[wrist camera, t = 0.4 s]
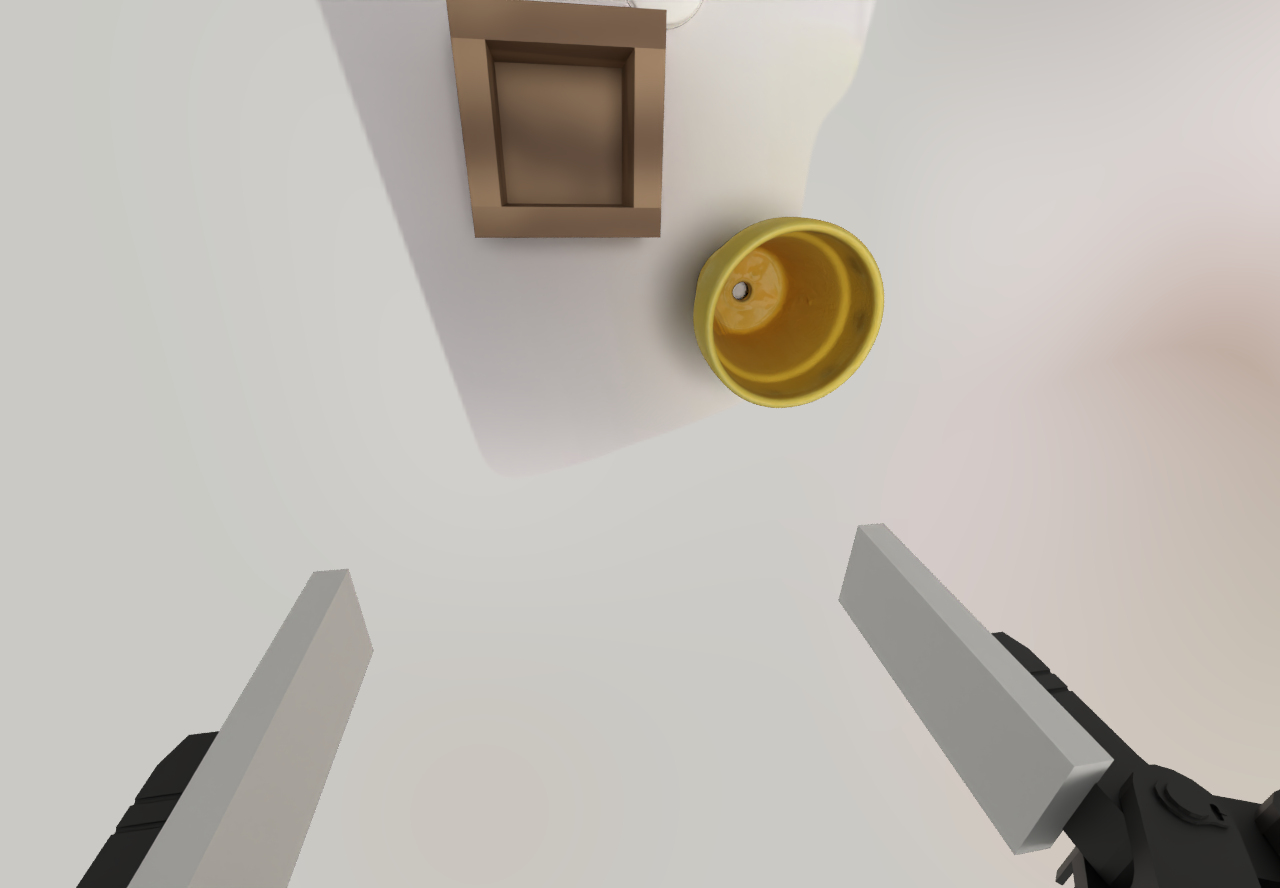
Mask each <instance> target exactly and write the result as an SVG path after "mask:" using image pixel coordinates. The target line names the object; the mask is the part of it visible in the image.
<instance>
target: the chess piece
mask: <svg viewBox="0 0 1280 888" xmlns="http://www.w3.org/2000/svg"><path fill="white" fill-rule="evenodd" d="M627 1H628V3H629V5H630V6H631V8H646V9H662V10H667V15H666V29H670V28H675V27H678V26H680V25H682V24H684V23H685V22H687V21H688V20H689V19H690V18H692V16H693V15H694V14H695V13H696V12H697V10H698V9H699V7H700V5H701V4H702V2H703V0H627Z"/></svg>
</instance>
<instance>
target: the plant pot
mask: <svg viewBox="0 0 1280 888" xmlns="http://www.w3.org/2000/svg"><path fill="white" fill-rule="evenodd" d="M740 282H745V283H746V284H747V285H748V288H749V292H748V295H747V296H746V297H745V298H744V299H741V300H738V299H736V298H735V297H734V296H733V293H732V292H733V288H734V286H735V285H736V284H738V283H740ZM883 309H884V289H883V282H882V278H881V274H880V271H879V268H878V266H877V264H876V261H875V260H874V258H873V256H872V254H871V253H870V252H869V250H868V249H867V247H866V246H865V245H864V244H863V243H862V242H861V241H860V240H859V239H858V238H857V237H855V236H854V235H853V234H851V233H850V232H849V231H847V230H845V229H844V228H842V227H840V226H837V225H835V224H832V223H829V222H825V221H821V220H816V219H809V218H800V217H781V218H773V219H768V220H764V221H761V222H758V223H756V224H753V225H751V226H749V227H747V228H745V229H744V230H742V231H740V232H739V233H738V234H736V235H735V236H733V237H732V238H731V239H730V240H729V241H727V242H726V243H725V244H724V245H723V246H722V247H721V248H719V249H718V250H717V251H715V252H714V253H713V254H712V255H711V256H710V257H709V259H708V260H707V261H706V263H705V264H704V266H703V268H702V270H701V272H700V274H699V277H698V281H697V287H696V296H695V302H694V311H693V322H694V331H695V336H696V340H697V343H698V346H699V348H700V350H701V353H702V354H703V356H704V358H705V360H706V361H707V363H708V365H709V366H710V368H711V369H712V370H713V372H714V373H715V374H716V375H717V377H718V378H719V379H720V380H721V381H722V382H723V383H724V385H725V386H727V387H728V388H729V389H730V390H731V391H732V392H733V393H735V394H736V395H738V396H739V397H741V398H742V399H744V400H746V401H749V402H751V403H754V404H756V405H760V406H765V407H772V408H786V407H793V406H799V405H803V404H807V403H810V402H813V401H815V400H817V399H819V398H822V397H824V396H825V395H827V394H829V393H831V392H832V391H834V390H835V389H836V388H838V387H839V386H840V385H842V384H843V383H844V382H845V381H846V380H847V379H848V378H850V377H851V376H852V375H853V374H854V372H855V371H856V370H857V369H858V368H859V367H860V365H861V364H862V362H863V361H864V360H865V358H866V357H867V355H868V353H869V352H870V350H871V348H872V346H873V344H874V342H875V340H876V337H877V335H878V332H879V329H880V325H881V321H882V316H883Z"/></svg>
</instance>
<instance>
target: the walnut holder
mask: <svg viewBox="0 0 1280 888" xmlns="http://www.w3.org/2000/svg"><path fill="white" fill-rule="evenodd" d="M446 2H447V11H448V19H449V27H450V35H451V43H452V51H453V60H454V68H455V76H456V84H457V92H458V100H459V109H460V117H461V125H462V133H463V141H464V149H465V158H466V166H467V174H468V182H469V190H470V198H471V207H472V215H473V223H474V231H475V238H529V237H660V227H661V191H662V156H663V121H664V86H665V50H666V15H667V10H662V9H646V8H631V7H616V6H601V5H585V4H570V3H555V2H540V1H524V0H446Z"/></svg>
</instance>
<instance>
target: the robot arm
mask: <svg viewBox="0 0 1280 888" xmlns="http://www.w3.org/2000/svg"><path fill="white" fill-rule="evenodd" d="M839 602H840V603H841V605H842V606H843V608H844V609H845V611H846V612H847V613H848V615H849V616H850V618H851V619H852V621H853V622H854V624H855V625H856V626H857V628H858V629H859V631H860V632H861V634H862V635H863V637H864V638H865V640H866V641H867V642H868V644H869V645H870V647H871V648H872V650H873V651H874V653H875V654H876V655H877V657H878V658H879V660H880V661H881V663H882V664H883V665H884V667H885V668H886V670H887V671H888V673H889V674H890V676H891V677H892V679H893V680H894V681H895V683H896V684H897V686H898V687H899V689H900V690H901V691H902V693H903V694H904V696H905V697H906V699H907V700H908V702H909V703H910V705H911V706H912V707H913V709H914V710H915V712H916V713H917V715H918V716H919V717H920V719H921V720H922V722H923V723H924V725H925V726H926V728H927V729H928V731H929V732H930V733H931V735H932V736H933V738H934V739H935V741H936V742H937V743H938V745H939V746H940V748H941V749H942V751H943V752H944V754H945V755H946V757H947V758H948V759H949V761H950V762H951V764H952V765H953V767H954V768H955V770H956V771H957V773H958V774H959V775H960V777H961V778H962V780H963V781H964V783H965V784H966V786H967V787H968V788H969V790H970V791H971V793H972V794H973V796H974V797H975V799H976V800H977V801H978V803H979V804H980V806H981V807H982V809H983V810H984V812H985V813H986V814H987V816H988V817H989V819H990V820H991V822H992V823H993V824H994V826H995V828H996V829H997V830H998V832H999V833H1000V835H1001V836H1002V837H1003V839H1004V841H1005V842H1006V843H1007V845H1008V846H1009V848H1010V849H1011V851H1012V852H1013V853H1014V855H1018V854H1023V853H1028V852H1033V851H1038V850H1043V849H1048V848H1050V847H1051V846H1052V845H1053V843H1054V842H1055V840H1056V839H1057V838H1058V836H1059V835H1060V834H1061V832H1062V831H1063V830H1064V832H1065V833H1066V834H1067V835H1068V837H1069V838H1070V839H1071V840H1072V842H1073V843H1074V844H1075V845H1076V847H1075V848H1074V849H1073V851H1072V852H1071V853H1070V855H1069V856H1068V857H1067V858H1066V860H1065V861H1064V863H1063V864H1062V865H1061V866H1060V868H1059V869H1058V870H1057V875H1056V882H1057V883H1059V884H1061V885H1063V884H1064V883H1065V882H1066V881H1067V879H1068V878H1069V877H1070V876H1071V874H1072V873H1073V875H1074V882H1075V887H1074V888H1280V790H1278V791H1276V792H1274V793H1273V794H1272V795H1271V796H1270V797H1269V798H1268V799H1267V800H1266V801H1265V802H1264V803H1263V804H1258V803H1252V802H1247V801H1242V800H1236V799H1231V798H1225V797H1220V796H1214V795H1212V794H1210V793H1209V792H1208V791H1206V790H1205V789H1204V788H1203V787H1201V786H1199V785H1198V784H1197V783H1196V782H1194V781H1193V780H1191V779H1189V778H1187V777H1186V776H1184V775H1182V774H1180V773H1177V772H1176V771H1174V770H1171V769H1168V768H1165V767H1161V766H1158V765H1149V764H1147V763H1146V762H1145V761H1144V760H1143V759H1142V758H1141V757H1139V756H1138V755H1137V754H1136V753H1135V752H1134V751H1133V750H1132V749H1131V748H1130V747H1129V746H1128V745H1127V744H1126V743H1125V742H1124V741H1123V740H1122V739H1121V738H1120V737H1119V736H1118V735H1116V733H1114V731H1113V730H1112V729H1110V728H1109V727H1108V726H1107V725H1106V724H1105V723H1104V722H1103V721H1102V720H1101V719H1100V718H1099V717H1098V716H1097V715H1096V714H1095V713H1094V712H1093V711H1092V710H1091V709H1090V708H1089V707H1088V706H1087V705H1086V704H1085V703H1084V702H1083V701H1082V700H1081V699H1080V698H1079V697H1078V696H1077V695H1076V694H1075V693H1074V692H1073V691H1069V690H1068V689H1067V686H1066V685H1065V684H1064V683H1063V682H1062V681H1061V680H1060V679H1059V678H1058V677H1057V676H1056V675H1055V674H1052V673H1051V672H1050V669H1049V668H1048V667H1047V666H1046V665H1045V664H1044V663H1043V662H1042V661H1041V660H1040V659H1039V658H1038V657H1037V656H1036V655H1035V654H1034V653H1032V652H1031V650H1030V649H1028V648H1027V647H1025V646H1024V645H1022V644H1021V643H1019V642H1018V641H1016V640H1014V639H1013V638H1011V637H1010V636H1008V635H1006V634H1005V633H1003V632H998V633H990V632H989V631H988V630H987V629H986V628H985V627H984V626H983V625H982V624H981V623H980V622H979V621H978V620H977V619H976V618H975V617H974V616H973V615H972V613H970V611H969V610H968V609H967V608H966V607H965V606H964V605H963V604H962V603H961V602H960V601H959V600H958V599H957V598H956V597H955V596H954V595H953V594H952V593H951V592H950V591H949V590H948V589H947V588H946V587H945V586H944V585H943V584H942V583H941V582H940V581H939V580H938V579H937V578H936V577H935V576H934V575H933V574H932V573H931V572H930V570H929V569H928V568H927V567H926V566H924V564H923V563H922V562H921V561H920V560H919V559H918V558H917V557H916V556H915V555H914V554H913V553H912V552H911V551H910V550H909V549H908V548H907V547H906V546H905V545H904V544H903V543H902V542H901V541H900V540H899V539H898V538H897V537H896V536H895V535H894V534H893V533H892V532H891V531H890V529H888V527H887V526H886V525H885V524H883V523H882V524H871V525H859V526H858V528H857V532H856V536H855V540H854V543H853V547H852V551H851V555H850V558H849V563H848V567H847V570H846V574H845V577H844V581H843V585H842V589H841V593H840V596H839ZM372 653H373V647H372V644H371V641H370V638H369V634H368V631H367V628H366V625H365V621H364V618H363V615H362V611H361V608H360V605H359V602H358V598H357V595H356V592H355V589H354V585H353V582H352V579H351V576H350V572H349V569H341V570H329V571H317V572H313V574H312V576H311V577H310V579H309V580H308V582H307V584H306V586H305V587H304V589H303V591H302V592H301V594H300V596H299V597H298V599H297V601H296V602H295V604H294V606H293V608H292V609H291V611H290V613H289V614H288V616H287V618H286V620H285V621H284V623H283V625H282V626H281V628H280V630H279V631H278V633H277V635H276V636H275V638H274V640H273V641H272V643H271V645H270V647H269V648H268V650H267V652H266V653H265V655H264V657H263V658H262V660H261V662H260V664H259V665H258V667H257V668H256V670H255V672H254V674H253V675H252V677H251V679H250V680H249V682H248V684H247V686H246V687H245V689H244V690H243V692H242V694H241V696H240V697H239V699H238V701H237V702H236V704H235V706H234V708H233V709H232V711H231V713H230V714H229V716H228V718H227V719H226V721H225V723H224V724H223V726H222V728H221V729H220V731H217V732H210V733H201V734H194V735H189V736H187V737H186V738H185V739H184V740H183V741H182V742H181V743H180V744H179V745H178V746H177V747H176V748H175V749H174V750H173V751H172V752H171V753H170V754H169V755H167V756H166V757H165V758H164V759H163V760H162V761H161V762H160V763H159V764H158V765H157V767H156V768H155V769H154V771H153V772H152V774H151V776H150V777H149V778H148V780H147V781H146V783H145V785H144V786H143V788H142V789H141V791H140V792H139V794H138V795H137V797H136V798H135V803H134V805H132V806H130V807H129V809H128V810H127V812H126V813H125V815H124V816H123V818H122V820H121V821H120V822H119V824H118V825H117V827H116V832H115V834H114V835H111V836H110V838H109V839H108V840H107V842H106V843H105V845H104V847H103V848H102V849H101V851H100V852H99V854H98V855H97V857H96V859H95V860H94V861H93V863H92V865H91V866H90V868H89V869H88V871H87V872H86V874H85V875H84V877H83V878H82V880H81V881H80V883H79V884H78V886H77V887H76V888H287V886H288V883H289V881H290V878H291V875H292V872H293V870H294V867H295V864H296V862H297V859H298V856H299V853H300V851H301V848H302V845H303V842H304V839H305V837H306V834H307V831H308V829H309V826H310V823H311V820H312V818H313V815H314V812H315V810H316V806H317V804H318V801H319V799H320V796H321V793H322V790H323V788H324V785H325V782H326V779H327V777H328V774H329V771H330V768H331V766H332V763H333V760H334V758H335V755H336V752H337V749H338V747H339V744H340V741H341V738H342V735H343V733H344V730H345V727H346V725H347V722H348V719H349V716H350V714H351V711H352V708H353V705H354V703H355V700H356V697H357V695H358V692H359V689H360V686H361V684H362V681H363V678H364V675H365V673H366V670H367V667H368V664H369V662H370V659H371V656H372Z"/></svg>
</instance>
